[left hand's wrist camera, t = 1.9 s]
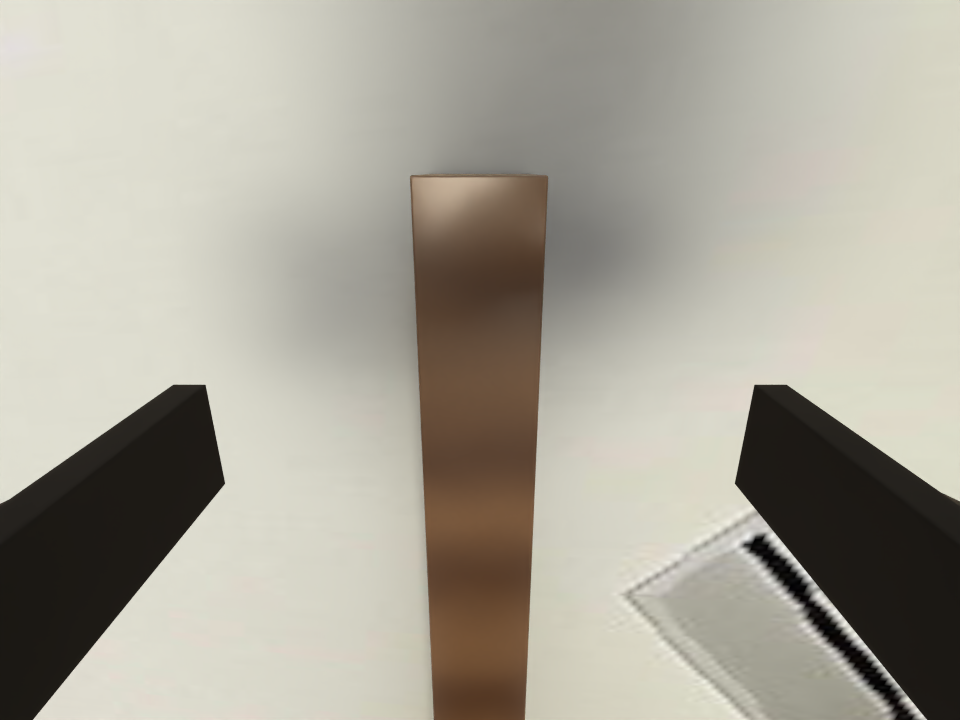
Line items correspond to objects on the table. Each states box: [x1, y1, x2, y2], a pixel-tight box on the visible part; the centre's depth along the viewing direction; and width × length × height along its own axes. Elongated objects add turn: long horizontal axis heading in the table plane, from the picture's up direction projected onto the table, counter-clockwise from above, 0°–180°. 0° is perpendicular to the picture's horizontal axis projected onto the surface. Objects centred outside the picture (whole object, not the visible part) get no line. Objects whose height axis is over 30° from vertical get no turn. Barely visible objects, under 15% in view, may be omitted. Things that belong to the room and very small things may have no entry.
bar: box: [410, 174, 548, 720], centre depth 31 cm, size 54×5×7 cm, turn 0°
